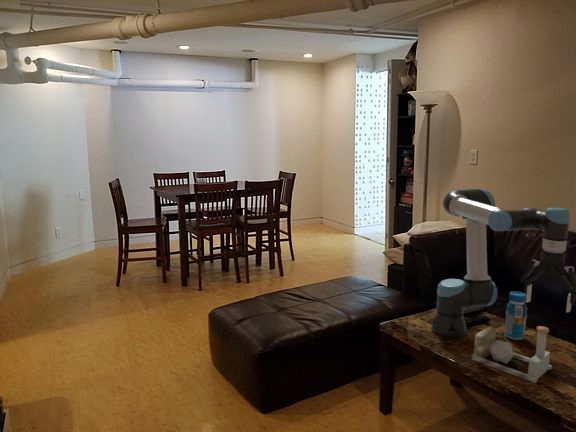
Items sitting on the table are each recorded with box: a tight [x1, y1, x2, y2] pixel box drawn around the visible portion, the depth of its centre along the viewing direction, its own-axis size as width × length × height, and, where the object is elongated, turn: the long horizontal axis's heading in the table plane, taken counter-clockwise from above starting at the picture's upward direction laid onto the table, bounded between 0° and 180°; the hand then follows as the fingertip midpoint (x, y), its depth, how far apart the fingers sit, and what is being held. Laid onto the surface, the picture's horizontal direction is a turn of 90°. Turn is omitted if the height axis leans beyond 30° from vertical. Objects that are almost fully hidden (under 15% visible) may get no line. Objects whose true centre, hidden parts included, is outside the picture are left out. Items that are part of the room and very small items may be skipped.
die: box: [490, 339, 515, 365], centre depth 187 cm, size 8×9×10 cm
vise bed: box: [471, 326, 553, 384], centre depth 184 cm, size 24×15×10 cm, turn 42°
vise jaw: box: [527, 325, 551, 379], centre depth 176 cm, size 4×12×18 cm, turn 132°
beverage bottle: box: [503, 290, 528, 341], centre depth 208 cm, size 8×8×20 cm
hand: (547, 306), depth 173 cm, fingers open, 13 cm apart
